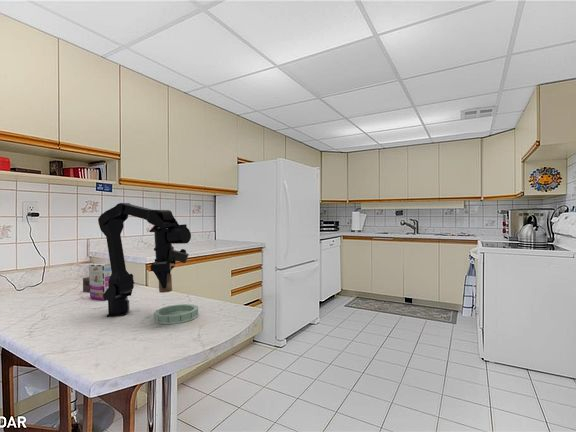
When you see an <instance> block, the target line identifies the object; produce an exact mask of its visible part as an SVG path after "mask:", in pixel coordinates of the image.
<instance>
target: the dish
mask: <svg viewBox="0 0 576 432" xmlns="http://www.w3.org/2000/svg"><path fill="white" fill-rule="evenodd" d="M198 316H199V306H198V305H195V304H191V303H190V304H189V303H181V304H179V303H178V304H172V305H168V306H164V307H161V308H158V309H156V310H154V313H153V320H154V323H156V324H159V325H177V324H183V323H186V322H187V323H188V322H190V321H193V320H195V319H196V318H198Z"/></svg>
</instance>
